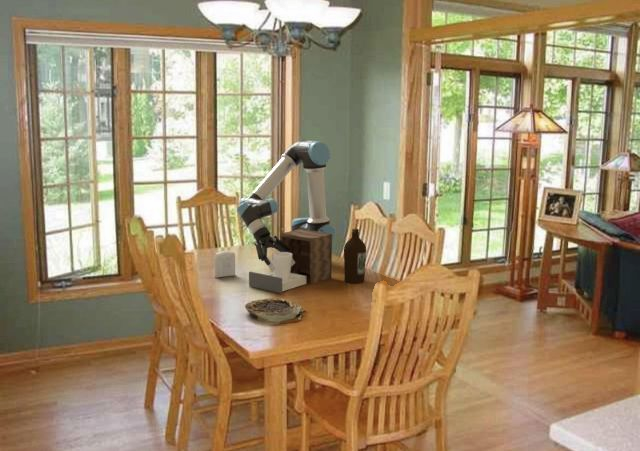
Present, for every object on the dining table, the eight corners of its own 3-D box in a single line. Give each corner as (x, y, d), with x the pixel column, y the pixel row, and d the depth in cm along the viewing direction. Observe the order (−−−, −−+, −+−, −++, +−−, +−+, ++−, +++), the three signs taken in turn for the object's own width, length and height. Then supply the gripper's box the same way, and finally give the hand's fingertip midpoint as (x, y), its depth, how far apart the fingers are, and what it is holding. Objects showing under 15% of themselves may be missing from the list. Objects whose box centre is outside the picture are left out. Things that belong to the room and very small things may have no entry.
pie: (248, 330, 242) (248, 317, 241) (227, 310, 266) (227, 298, 266) (317, 321, 253) (317, 308, 252) (291, 302, 278) (291, 291, 277)
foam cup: (284, 285, 296) (284, 257, 294) (267, 282, 301) (267, 254, 299) (296, 280, 305) (296, 253, 302) (279, 278, 309) (279, 251, 307)
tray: (277, 277, 315) (277, 263, 314) (308, 284, 303) (309, 270, 302) (249, 286, 299) (248, 271, 298) (280, 293, 288) (280, 278, 287)
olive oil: (338, 281, 310) (339, 229, 306) (351, 277, 318) (352, 226, 314) (357, 285, 304) (359, 232, 300) (369, 280, 312) (371, 228, 308)
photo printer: (232, 273, 323) (232, 249, 320) (236, 275, 319) (236, 250, 317) (213, 276, 317) (213, 251, 315) (217, 278, 313) (216, 253, 311)
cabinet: (300, 271, 329) (300, 229, 325) (331, 277, 317) (331, 233, 313) (280, 277, 317) (280, 233, 313) (312, 283, 305) (312, 238, 301)
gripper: (272, 232, 319) (296, 266, 313) (236, 239, 299) (261, 277, 293) (281, 222, 315) (305, 257, 309) (245, 229, 295) (270, 267, 289)
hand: (283, 267), depth 301 cm, fingers open, 13 cm apart
